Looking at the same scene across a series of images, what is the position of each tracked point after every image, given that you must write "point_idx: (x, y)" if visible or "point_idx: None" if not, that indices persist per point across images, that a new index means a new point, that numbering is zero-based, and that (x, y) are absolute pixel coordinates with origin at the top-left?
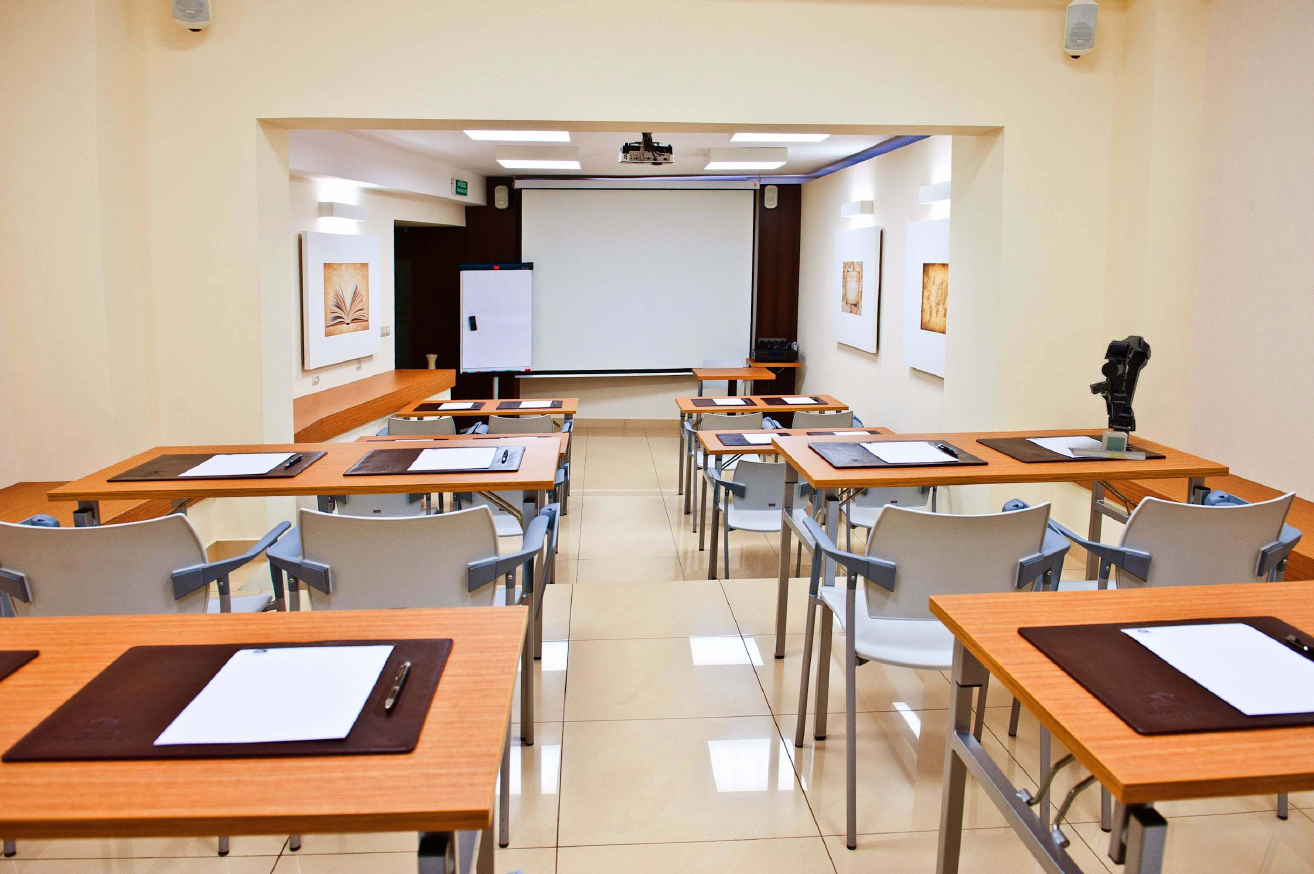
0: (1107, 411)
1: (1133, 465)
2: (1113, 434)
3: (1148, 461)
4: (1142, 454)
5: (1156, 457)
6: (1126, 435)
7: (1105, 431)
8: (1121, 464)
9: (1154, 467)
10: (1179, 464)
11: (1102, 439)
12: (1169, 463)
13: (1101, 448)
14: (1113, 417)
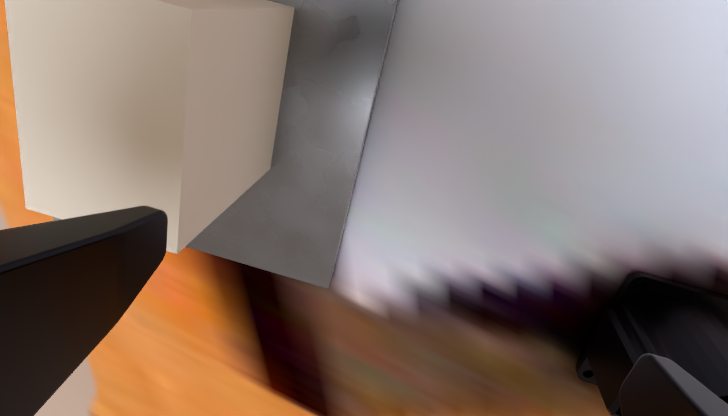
0: (689, 401)
1: (10, 104)
2: (20, 56)
3: (164, 262)
4: (59, 219)
5: (290, 363)
6: (32, 194)
7: (132, 10)
8: (4, 27)
9: (11, 212)
10: (142, 379)
11: (239, 6)
12: (149, 345)
13: (271, 4)
14: (109, 220)
